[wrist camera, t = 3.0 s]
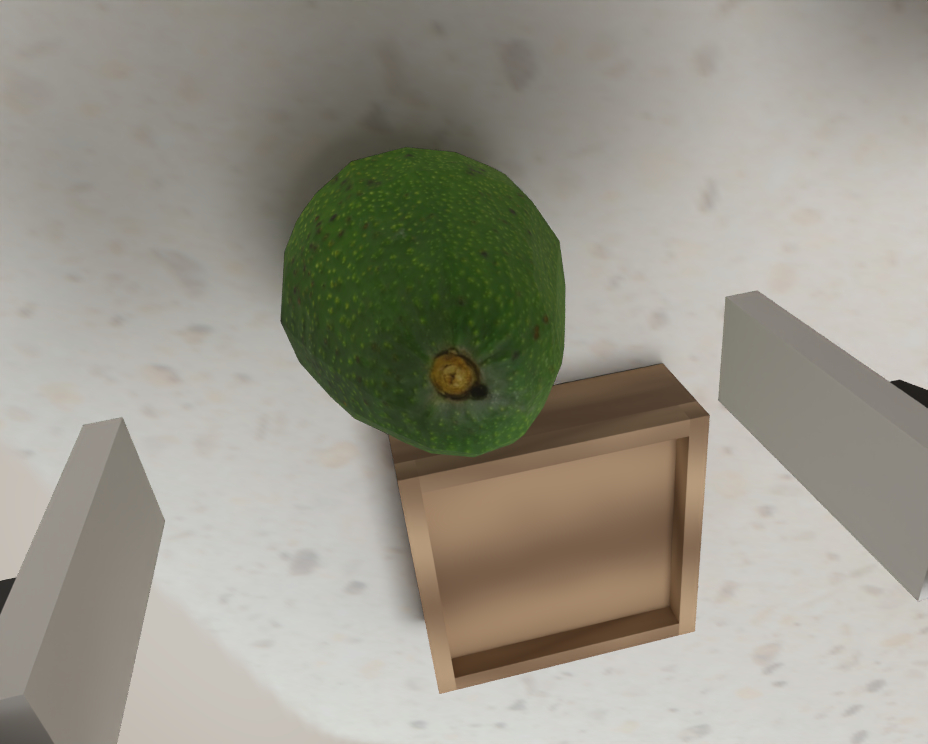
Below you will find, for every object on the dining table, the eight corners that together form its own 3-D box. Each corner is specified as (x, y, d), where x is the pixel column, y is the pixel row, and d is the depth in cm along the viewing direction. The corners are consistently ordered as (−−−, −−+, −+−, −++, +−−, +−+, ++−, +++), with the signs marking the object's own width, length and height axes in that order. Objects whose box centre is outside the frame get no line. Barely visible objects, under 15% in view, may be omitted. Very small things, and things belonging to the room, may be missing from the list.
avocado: (511, 106, 24) (669, 217, 14) (515, 323, 28) (640, 533, 18) (262, 128, 23) (235, 266, 13) (302, 351, 27) (305, 593, 17)
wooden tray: (385, 419, 29) (397, 480, 26) (663, 363, 30) (709, 415, 27) (425, 621, 35) (439, 694, 31) (657, 567, 36) (694, 631, 33)
